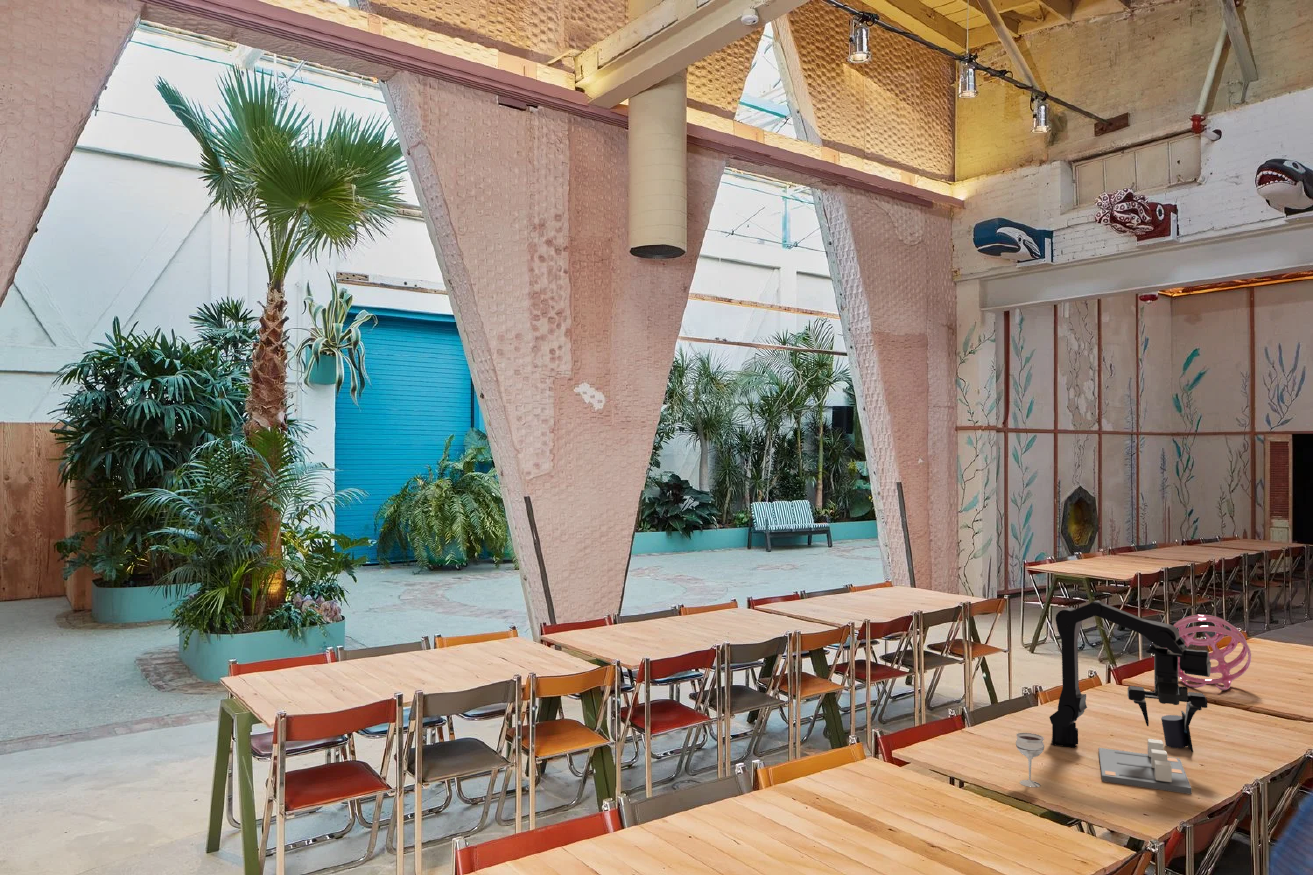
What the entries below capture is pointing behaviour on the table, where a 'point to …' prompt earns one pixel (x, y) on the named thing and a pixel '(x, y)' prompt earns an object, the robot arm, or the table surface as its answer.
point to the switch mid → (1158, 756)
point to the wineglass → (1029, 751)
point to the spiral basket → (1214, 649)
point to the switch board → (1140, 771)
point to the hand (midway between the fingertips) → (1166, 728)
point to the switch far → (1154, 745)
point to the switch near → (1163, 771)
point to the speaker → (1176, 731)
